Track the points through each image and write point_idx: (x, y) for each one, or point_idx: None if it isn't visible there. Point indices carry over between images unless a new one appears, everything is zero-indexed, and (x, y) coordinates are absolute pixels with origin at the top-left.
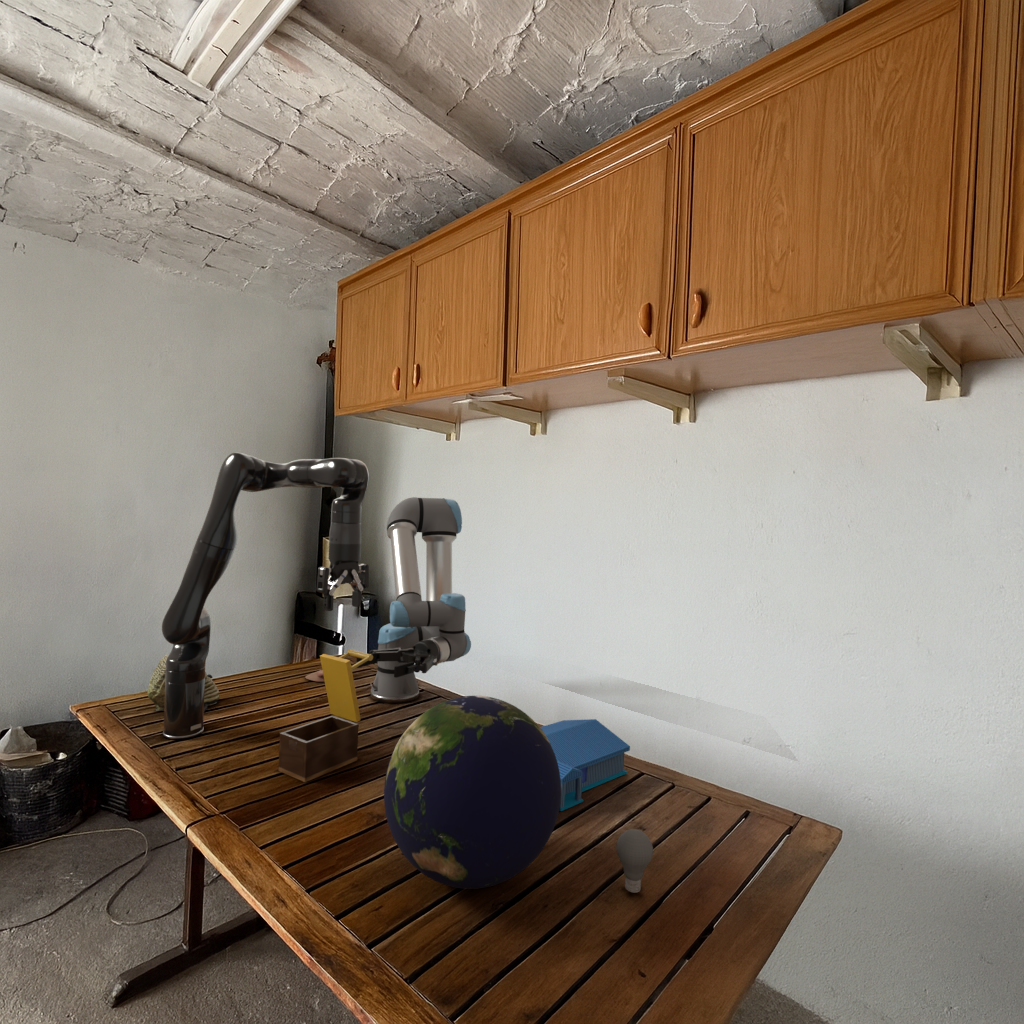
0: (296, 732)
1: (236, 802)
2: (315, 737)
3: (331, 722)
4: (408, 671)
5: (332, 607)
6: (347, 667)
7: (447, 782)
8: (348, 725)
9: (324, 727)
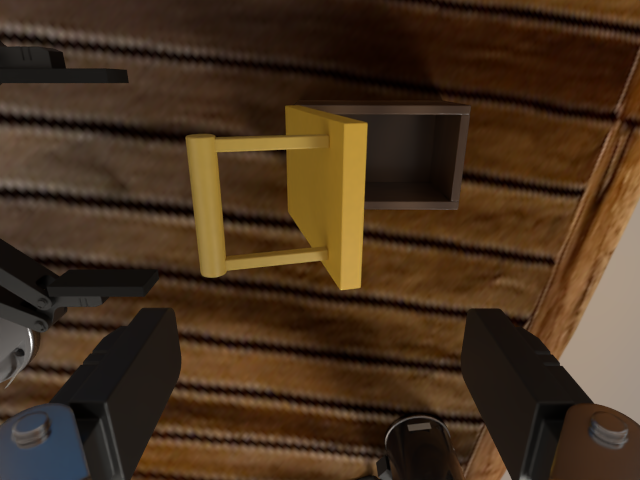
0: (414, 198)
1: (571, 133)
2: None
3: None
4: (58, 51)
5: (487, 319)
6: (357, 120)
7: None
8: None
9: None
